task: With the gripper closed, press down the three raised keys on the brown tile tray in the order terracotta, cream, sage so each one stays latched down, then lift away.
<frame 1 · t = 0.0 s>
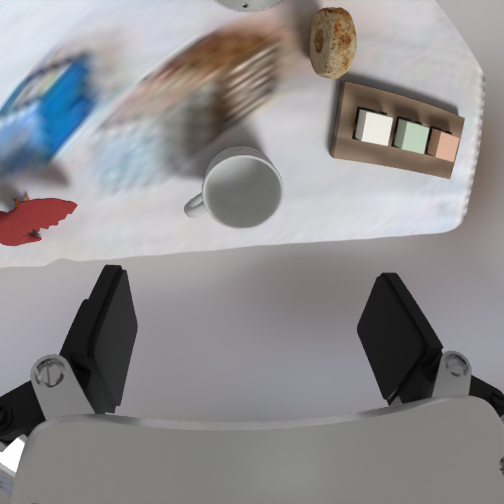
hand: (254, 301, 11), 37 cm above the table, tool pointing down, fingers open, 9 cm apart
tile terracotta: (443, 145, 41), point 3 cm above the table, slide at 0.0 cm
teacup: (230, 176, 46), on the table
tile cream: (374, 127, 40), point 3 cm above the table, slide at 0.0 cm
bagel: (318, 45, 36), on the table
brown tile tray: (401, 131, 43), on the table
decorative bird sculpture: (27, 210, 45), on the table
tile sage: (411, 136, 40), point 3 cm above the table, slide at 0.0 cm
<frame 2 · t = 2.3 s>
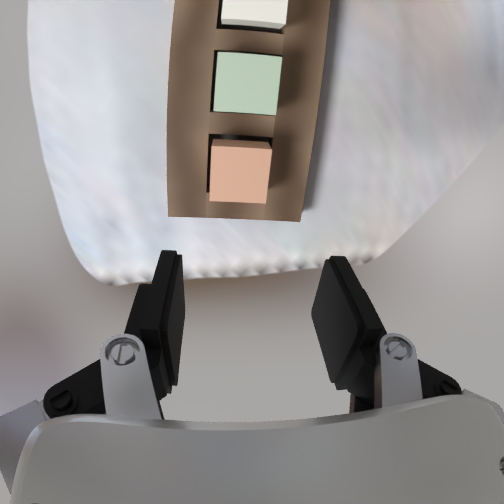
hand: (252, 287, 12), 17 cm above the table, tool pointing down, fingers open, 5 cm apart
tile terracotta: (239, 170, 24), point 3 cm above the table, slide at 0.0 cm
brown tile tray: (244, 81, 23), on the table
tile sage: (246, 82, 20), point 3 cm above the table, slide at 0.0 cm
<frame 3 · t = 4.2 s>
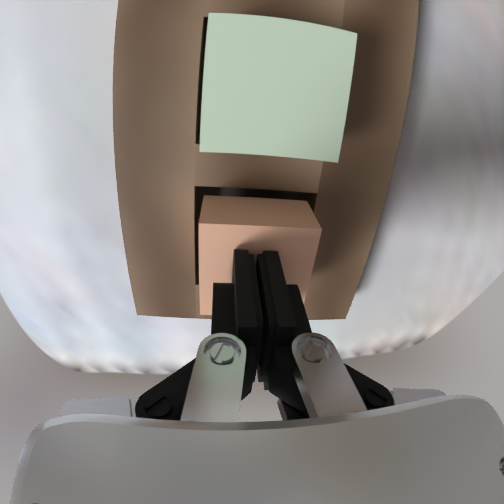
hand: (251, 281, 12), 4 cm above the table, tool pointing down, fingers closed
tile terracotta: (253, 257, 13), point 3 cm above the table, slide at 0.2 cm, touching gripper
brown tile tray: (263, 82, 12), on the table
tile sage: (273, 84, 9), point 3 cm above the table, slide at 0.0 cm
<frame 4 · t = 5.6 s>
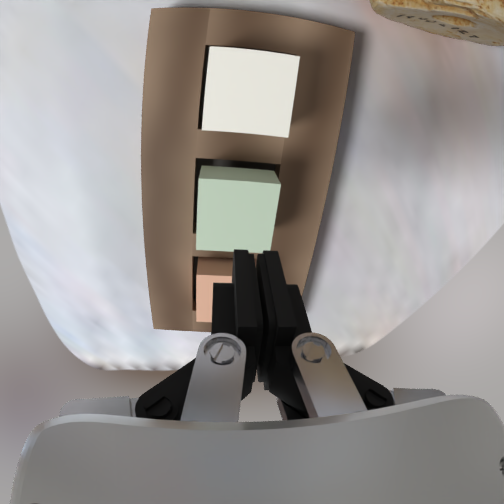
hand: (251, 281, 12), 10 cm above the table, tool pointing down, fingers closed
tile terracotta: (226, 290, 23), point 2 cm above the table, slide at 1.1 cm
tile cream: (248, 90, 15), point 3 cm above the table, slide at 0.0 cm
bagel: (410, 10, 14), on the table
brown tile tray: (233, 189, 21), on the table
tile sage: (235, 209, 18), point 3 cm above the table, slide at 0.0 cm
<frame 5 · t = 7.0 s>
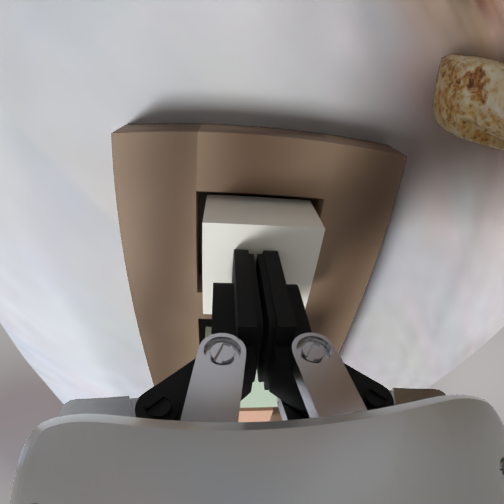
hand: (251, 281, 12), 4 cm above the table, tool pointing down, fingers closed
tile terracotta: (238, 409, 21), point 2 cm above the table, slide at 1.1 cm
tile cream: (256, 257, 13), point 2 cm above the table, slide at 0.9 cm
bagel: (472, 96, 11), on the table
brown tile tray: (243, 328, 19), on the table
tile sage: (245, 370, 16), point 3 cm above the table, slide at 0.0 cm
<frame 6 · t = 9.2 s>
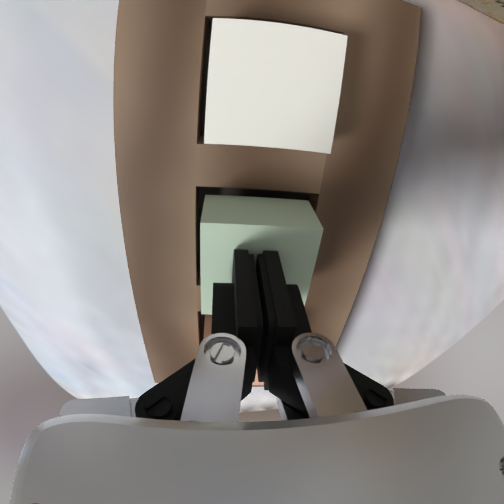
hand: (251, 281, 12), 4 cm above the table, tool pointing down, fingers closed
tile terracotta: (242, 348, 17), point 2 cm above the table, slide at 1.1 cm
tile cream: (271, 83, 10), point 2 cm above the table, slide at 1.1 cm
brown tile tray: (250, 223, 15), on the table
tile sage: (255, 257, 13), point 3 cm above the table, slide at 0.3 cm, touching gripper
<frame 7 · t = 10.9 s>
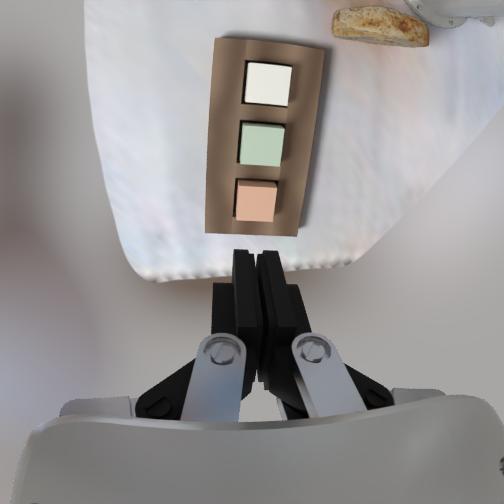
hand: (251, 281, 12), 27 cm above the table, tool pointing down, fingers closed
tile terracotta: (255, 200, 37), point 2 cm above the table, slide at 1.1 cm
tile cream: (267, 83, 29), point 2 cm above the table, slide at 1.1 cm
bagel: (361, 31, 28), on the table
brown tile tray: (259, 139, 35), on the table
tile sage: (261, 143, 33), point 2 cm above the table, slide at 1.1 cm
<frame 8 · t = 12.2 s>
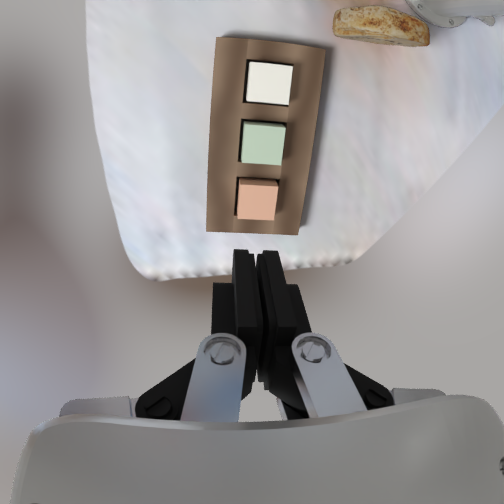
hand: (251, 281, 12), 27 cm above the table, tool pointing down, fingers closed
tile terracotta: (256, 198, 37), point 2 cm above the table, slide at 1.1 cm
tile cream: (268, 82, 30), point 2 cm above the table, slide at 1.1 cm
bagel: (362, 30, 28), on the table
brown tile tray: (260, 138, 35), on the table
tile sage: (262, 142, 33), point 2 cm above the table, slide at 1.1 cm
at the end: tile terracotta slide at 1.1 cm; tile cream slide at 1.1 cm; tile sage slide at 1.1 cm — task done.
